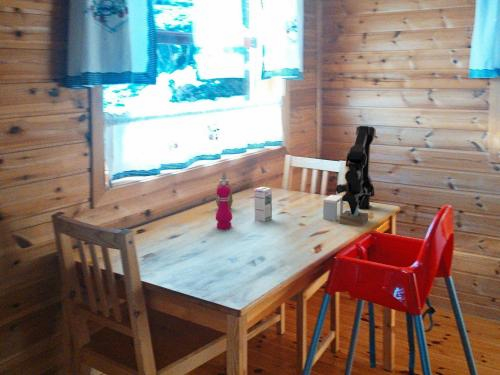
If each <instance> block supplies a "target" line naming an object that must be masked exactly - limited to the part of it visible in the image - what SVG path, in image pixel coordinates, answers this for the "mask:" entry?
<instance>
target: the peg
mask: <svg viewBox="0 0 500 375" xmlns="http://www.w3.org/2000/svg"><path fill="white" fill-rule="evenodd" d="M358 206H359V205H358ZM358 206H357V208H356V211H355V213H354V214H351V210H349V211H350V216H357V217H358V212H359V209H358Z"/></svg>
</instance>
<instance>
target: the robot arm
mask: <svg viewBox="0 0 500 375" xmlns="http://www.w3.org/2000/svg"><path fill="white" fill-rule="evenodd" d="M376 133H377V130H376V128H375V127H374V126H368V125H359V126H357V127H356V130H355V136H356V137H355V140H354V145H353V146H351V147H349V148H350V149H349V151H347V154H346V155H347V156H346V160H345V167H346V168H347V167H348V170H347V171H346V172H345V174H344V179H345V181H346V183H343V184H341V183H339V184H337V185H336V186H335V187H334V189H335V190H334V191H335V192H336V194H337V195H340V194H342V193H344V194H343V195H341V196H342V201H343V202H345V203H348V207H349V209H350V210H351V214H354V213H355V211H356V208H357V206H358V205H359V206H358V210H359V209H362V210H370V209H371V208H372V206H373V205H370V203H371V201H370V200H371V197H375V187H374V184H373V179H372V177H371V176H370V160H371V157H370V156H371V144H372V143H373V142H374V140H375V137H376ZM350 210H349V211H350Z"/></svg>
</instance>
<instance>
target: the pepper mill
mask: <svg viewBox="0 0 500 375" xmlns="http://www.w3.org/2000/svg"><path fill="white" fill-rule="evenodd" d="M225 184H226V183H225V182H222V183H221V186H219V187H218V188H217V187H216V196H217V195H218V200H219V208H218V207H217V208H218V209H217V211H216V213H215V220H216V228H217V229H220V230H228V229H230V228H232V220H233V214H232V211H231V209H229V204H228V202H229V200H230V199H229V198H230V197H229V195H230V193H231V190H232V189H231V190H230V188H229V187H228V186H226V185H225Z"/></svg>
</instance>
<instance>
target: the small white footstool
mask: <svg viewBox="0 0 500 375" xmlns="http://www.w3.org/2000/svg"><path fill="white" fill-rule="evenodd" d="M342 196H343V195H339V194H337V195H336V194H330V195H328V196H327V197H325V198H324V199H323V210H322V212H323V213H322V214H323V216H322V219H323V220H330V221H337V218H338V216H337V212H338V202H340V204H339V206H340V208H339V216H340V215H342V214H343V213H344V201H342Z"/></svg>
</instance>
